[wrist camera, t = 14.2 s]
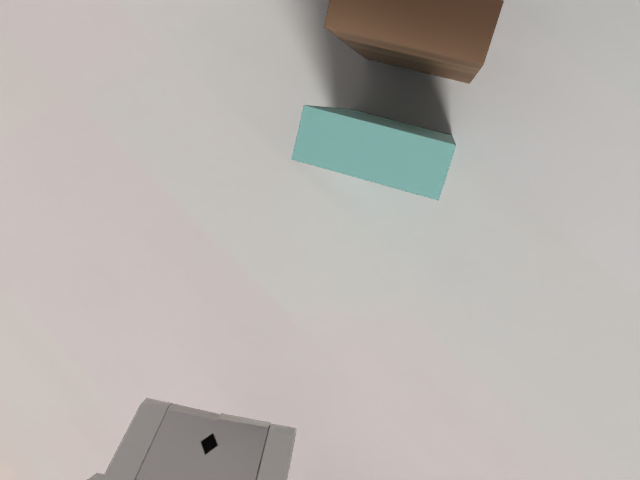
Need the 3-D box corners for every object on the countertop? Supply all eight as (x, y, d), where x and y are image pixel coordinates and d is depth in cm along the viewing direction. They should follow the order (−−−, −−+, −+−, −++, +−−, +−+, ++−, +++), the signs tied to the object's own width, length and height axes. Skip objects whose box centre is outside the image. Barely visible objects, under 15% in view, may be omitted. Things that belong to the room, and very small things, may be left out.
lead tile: (440, 172, 25) (438, 200, 17) (341, 145, 26) (291, 159, 18) (452, 135, 25) (456, 144, 16) (350, 109, 26) (303, 105, 17)
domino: (469, 83, 24) (483, 64, 16) (364, 58, 25) (324, 26, 16) (482, 43, 24) (503, 0, 15) (375, 18, 24) (338, -36, 16)
